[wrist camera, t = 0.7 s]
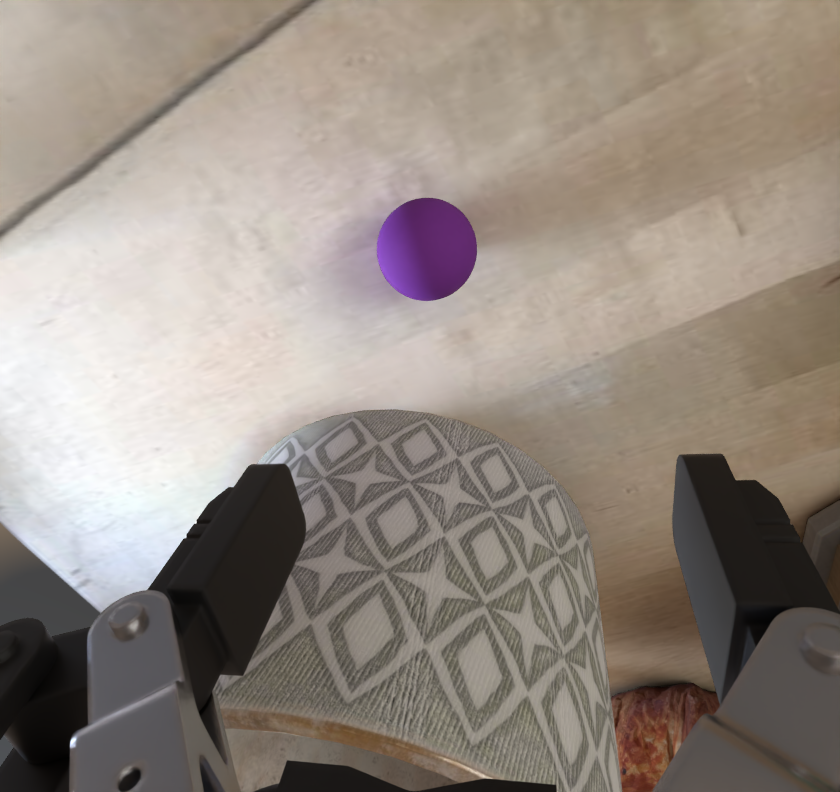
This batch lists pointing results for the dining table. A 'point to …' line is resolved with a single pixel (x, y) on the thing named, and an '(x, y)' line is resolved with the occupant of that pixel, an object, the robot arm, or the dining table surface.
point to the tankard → (826, 547)
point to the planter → (428, 617)
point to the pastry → (655, 729)
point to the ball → (426, 249)
